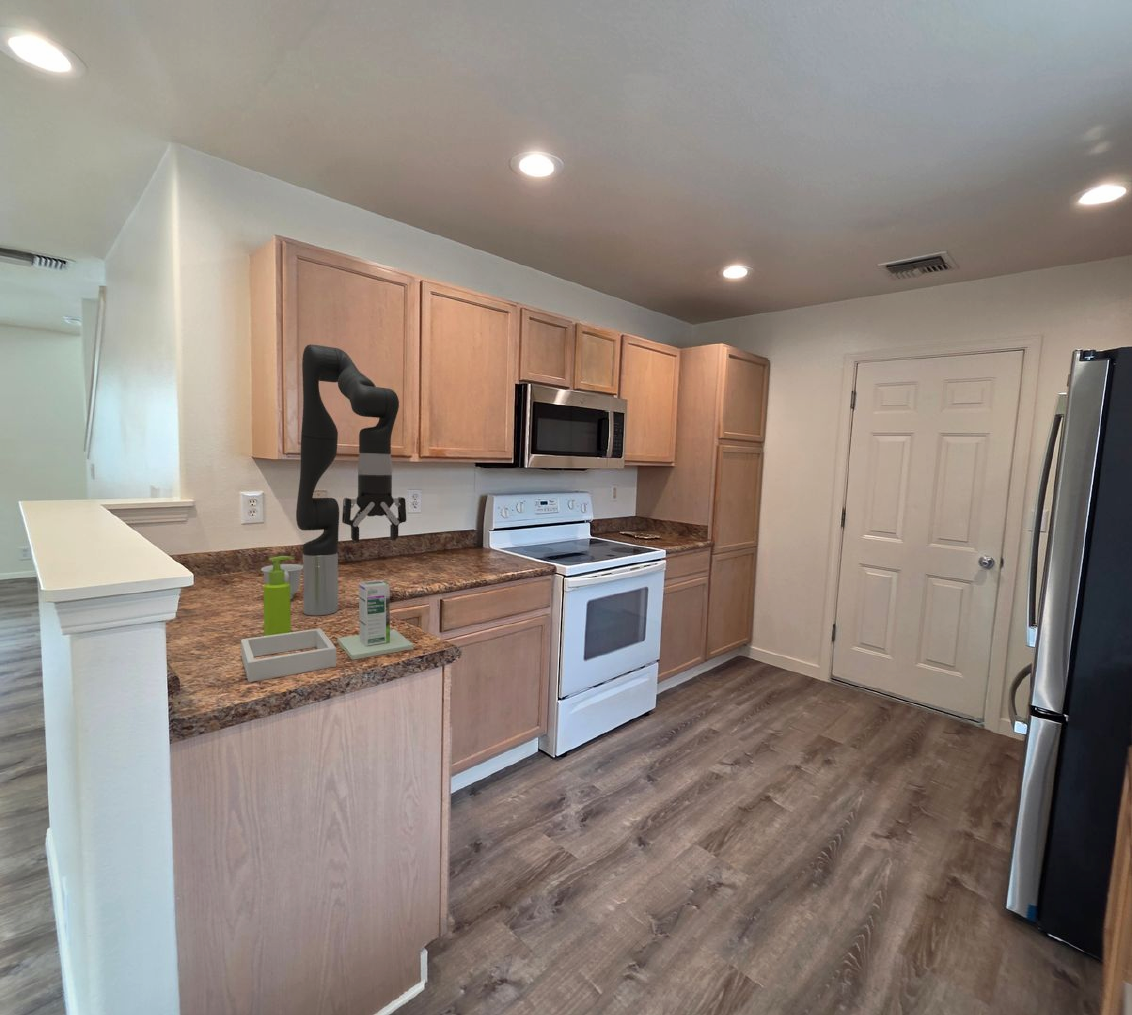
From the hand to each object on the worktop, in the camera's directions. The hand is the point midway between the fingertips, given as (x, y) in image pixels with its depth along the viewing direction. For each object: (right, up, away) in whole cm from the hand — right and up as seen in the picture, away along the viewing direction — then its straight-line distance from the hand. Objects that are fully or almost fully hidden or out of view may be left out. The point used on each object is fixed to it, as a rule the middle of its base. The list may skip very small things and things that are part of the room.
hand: (375, 541), depth 128 cm
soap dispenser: (-26, -24, +7) cm, 37 cm away
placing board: (-1, -25, +2) cm, 25 cm away
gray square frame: (-16, -26, -10) cm, 32 cm away
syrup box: (-1, -24, +2) cm, 25 cm away
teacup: (-43, -21, +42) cm, 64 cm away
